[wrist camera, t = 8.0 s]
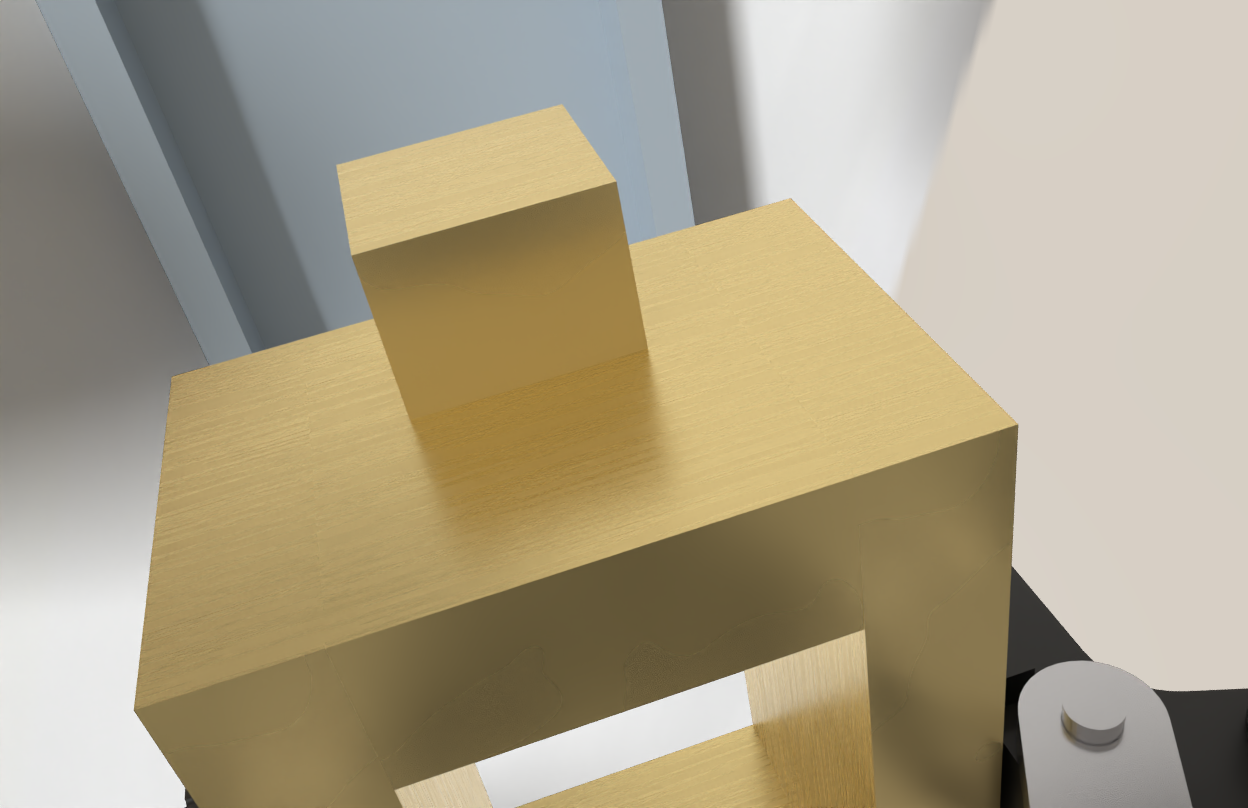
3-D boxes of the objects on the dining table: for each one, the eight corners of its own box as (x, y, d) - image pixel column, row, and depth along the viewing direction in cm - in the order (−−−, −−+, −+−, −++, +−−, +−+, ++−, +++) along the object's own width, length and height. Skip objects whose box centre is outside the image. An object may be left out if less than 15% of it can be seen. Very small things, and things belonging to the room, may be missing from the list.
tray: (690, 343, 32) (719, 387, 30) (281, 468, 31) (284, 522, 29) (576, -358, 22) (608, -359, 20) (-36, -223, 21) (-65, -211, 19)
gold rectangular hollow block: (841, 762, 16) (989, 1037, 13) (436, 907, 15) (485, 1237, 12) (777, 45, 10) (1027, 227, 7) (98, 229, 9) (15, 532, 6)
